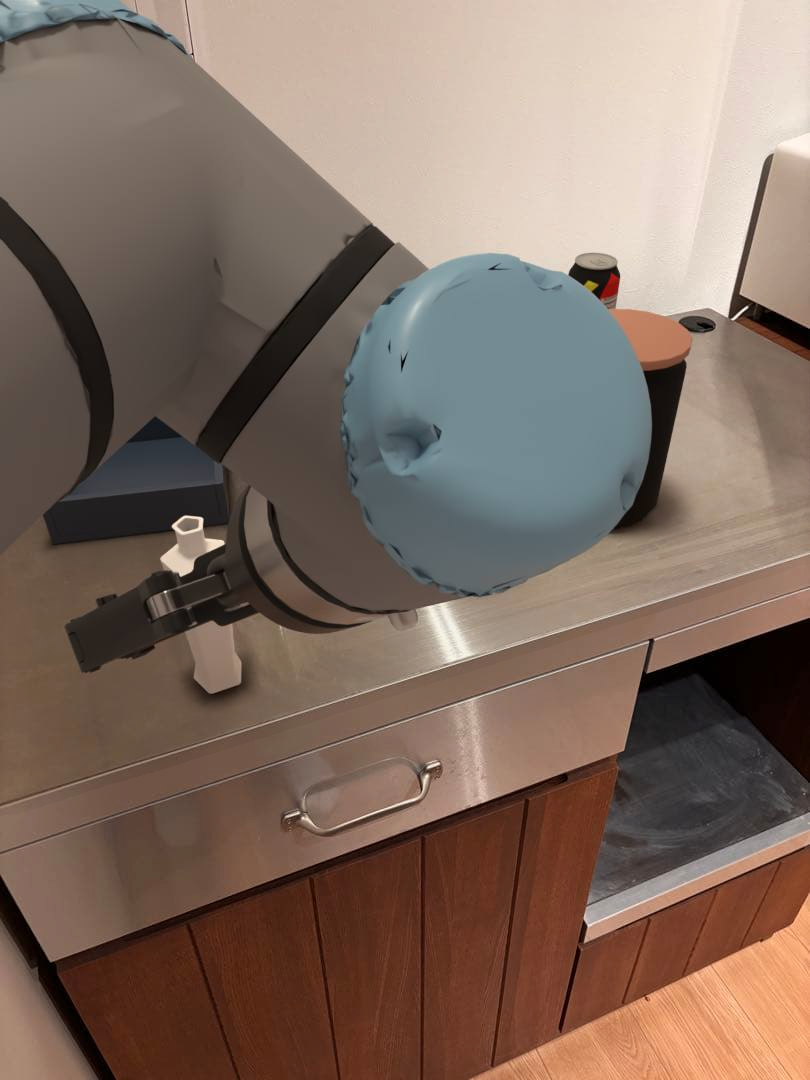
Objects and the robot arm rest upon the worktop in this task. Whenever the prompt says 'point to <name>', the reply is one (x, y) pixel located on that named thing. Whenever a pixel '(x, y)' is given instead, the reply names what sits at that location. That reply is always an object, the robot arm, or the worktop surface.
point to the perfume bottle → (208, 640)
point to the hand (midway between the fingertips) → (240, 594)
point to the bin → (143, 490)
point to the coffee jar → (656, 393)
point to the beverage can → (598, 276)
